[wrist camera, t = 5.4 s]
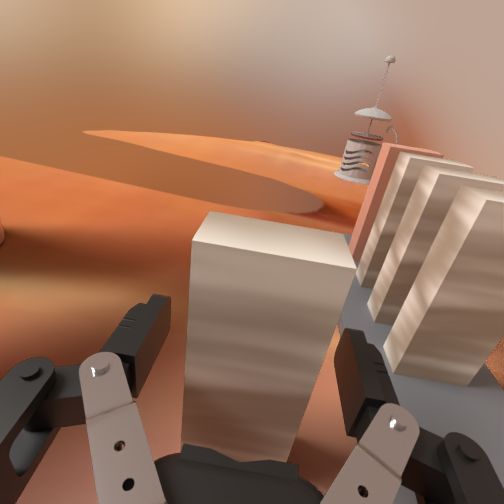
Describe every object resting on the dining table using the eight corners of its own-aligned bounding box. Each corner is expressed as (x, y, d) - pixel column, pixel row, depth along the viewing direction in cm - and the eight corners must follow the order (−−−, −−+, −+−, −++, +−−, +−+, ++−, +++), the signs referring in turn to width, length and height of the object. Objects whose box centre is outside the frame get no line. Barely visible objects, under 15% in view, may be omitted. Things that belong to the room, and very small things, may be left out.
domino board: (394, 585, 12) (404, 575, 11) (318, 236, 40) (320, 229, 40) (654, 635, 12) (675, 628, 11) (394, 249, 40) (397, 242, 39)
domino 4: (466, 387, 20) (590, 216, 14) (393, 373, 20) (486, 199, 14) (449, 358, 22) (550, 200, 16) (383, 346, 22) (460, 185, 16)
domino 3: (434, 333, 24) (518, 186, 18) (374, 322, 24) (439, 173, 19) (422, 313, 26) (494, 176, 21) (367, 303, 26) (424, 164, 21)
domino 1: (279, 482, 14) (356, 269, 9) (179, 463, 15) (192, 240, 9) (280, 432, 17) (343, 233, 11) (193, 415, 17) (210, 210, 11)
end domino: (394, 268, 33) (443, 155, 27) (350, 260, 33) (390, 146, 27) (388, 257, 35) (432, 150, 29) (347, 250, 35) (383, 142, 29)
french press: (339, 169, 79) (371, 56, 67) (385, 181, 75) (428, 62, 63) (328, 175, 71) (362, 48, 59) (379, 189, 67) (426, 55, 55)
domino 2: (411, 295, 29) (474, 167, 23) (360, 286, 29) (410, 157, 23) (402, 281, 31) (458, 161, 25) (355, 273, 31) (399, 151, 25)
